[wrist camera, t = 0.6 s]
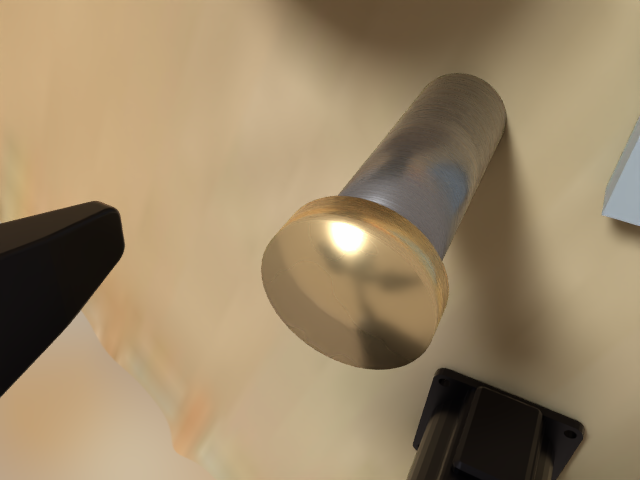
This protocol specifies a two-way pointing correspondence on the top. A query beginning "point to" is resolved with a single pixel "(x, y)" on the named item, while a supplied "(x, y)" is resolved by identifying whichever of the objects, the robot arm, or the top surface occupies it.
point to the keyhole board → (625, 183)
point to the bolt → (387, 232)
